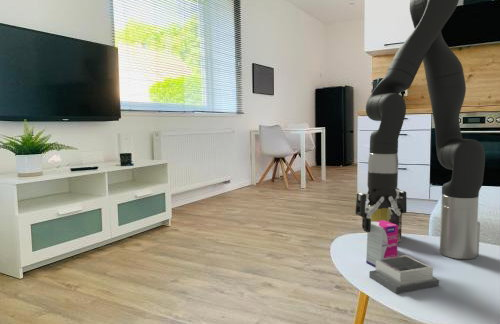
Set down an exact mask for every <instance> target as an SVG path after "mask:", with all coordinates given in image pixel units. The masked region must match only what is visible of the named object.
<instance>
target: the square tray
mask: <svg viewBox="0 0 500 324" xmlns="http://www.w3.org/2000/svg"><path fill="white" fill-rule="evenodd" d="M433 269H434V267H433V266H430V265H428V264H426V263H424V262H422V261H420V260H418V259H415V258H414V257H412V256H410V255H407V254H404V255H397V256H396V257H389V258H382V259H376V267H375V270H369V274H368V275H369V278H371V279H372V280H374V281H375V282H377V283H378V284H380V285H381V286H383V287H384V288H386V289H387V290H389V291H390V292H392V293H394V294H395V295H397V294H402V293H409V292H413V291H419V290H423V289H429V288H433V287H434V288H435V287H439V285H440V282H439V281H440V280H439V279H438V278H437V277H434V276H433V275H434V270H433Z"/></svg>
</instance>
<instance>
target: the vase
mask: <svg viewBox="0 0 500 324" xmlns="http://www.w3.org/2000/svg"><path fill="white" fill-rule="evenodd" d="M371 207H372V205H371ZM370 219H371V222H374V221H381V220H385V221H387V222H389V209H388V208H382V209H377V210H376V211H375V212H374V213H373V214H372V215H371V217H370Z"/></svg>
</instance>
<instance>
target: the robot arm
mask: <svg viewBox="0 0 500 324" xmlns="http://www.w3.org/2000/svg"><path fill="white" fill-rule="evenodd" d="M459 1H460V0H410V1H409V12H410V17H411V20H412V25H413V28H414V30H413V31H412V32H411V34H409V36H408V37H407V38H406V39H405V40H404V41H403V43H402V45H401V46H400V47H399V48H398V50H397V51H396V52H395V54H394V56H393V58H392V60H391V62H390V64H389V67H388V68H387V70H386V73H385V76H383V78H382V79H381V80H380V81H379V83H378V84H377V85H376V87H375V88H374V89H373V91H372V92H371V93H370V95H369V97H368V98H367V100H366V103H365V112H366V115H367V117H368V118H369V119H370V120H372V121H374V122H380V123H379V126H378V129H377V130H374V131H372V132H371V134H370V136H369V137H370V138H369V155H368V161H367V185H366V186H367V189H368V190H367V193H363V192H357V193H356V200H355V202H356V203H355V215H356V216H360V217H361V218H362V219H361V220H362V223H361V228H362V229H363V231H364V232H365V233H367V232H370V231H371V219H370V217H371V215H372V214H373V213H374V212H375V211H376V210H377V209H382V208H388V209H389V210H390V211H391V213H392V215H391V223H393V224H396V225H398V227H399V217H400V215H401V214H402V215H403V214H406V213H407V209H408V208H407V205H408V204H407V192H406V191H404V190H401V189H399V190H397V191H396V188H398V184H399V183H398V180H399V179H398V178H399V158H398V157H399V156H398V155H399V137H400V134H401V131H402V127H403V124H404V121H405V118H406V113H407V105H406V101H405V99H404V98H403V96H402V95H401V93H403V92H406V91H407V90H408V89H410V87H411V86H412V85H413V82H414V79H415V78H416V75H417V74H418V71H419V69H420V67H421V65H422V62H423V67H424V72H425V80H426V85H427V90H428V91H427V92H428V95H429V100H430V105H431V111H432V117H433V123H434V124H433V125H434V132H435V135H434V136H435V146H436V156H437V160H438V162H439V164H440V165H441V166H442V167H444V168H445V169H447V170H452V174H451V180H450V181H448V182H445V183H443V185H442V186H441V202H440V203H441V206H440V208H441V209H440V211H441V212H440V231H439V232H440V233H439V234H440V236H439V253H440V254H441V255H443V256H446V257H448V258H452V259H458V260H473V259H475V258H476V257H477V256H479V254H480V235H481V234H480V233H481V223H480V222H479V220H478V219H479V217H478V216H479V195H480V190H481V188H482V186H483V182H484V174H485V164H486V163H485V162H486V153H485V149H484V146H483V144H482V143H481V142H480V141H478V140H477V139H472V138H463V136H462V131H461V127H460V126H461V125H460V114H461V110H462V107H463V104H464V100H465V98H466V92H467V90H466V89H467V87H466V80H465V79H466V78H465V73H464V68H463V65H462V62H461V61H460V59H459V58H458V56H457V55H456V54H455V53H454V51H453V50H452V49H451V48H450V46H448V44H447V43H446V41H445V39H444V37H443V34H442V30H443V28H444V27H445V25H446V23H447V22H448V21H449V19H450V18H451V16H452V15H453V13H454V11H455V10H456V9H457V6H458V4H459ZM395 198H397V205H396V203H395V201H394V200H395ZM366 202H367V203H366ZM371 205H372V207H371Z"/></svg>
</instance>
